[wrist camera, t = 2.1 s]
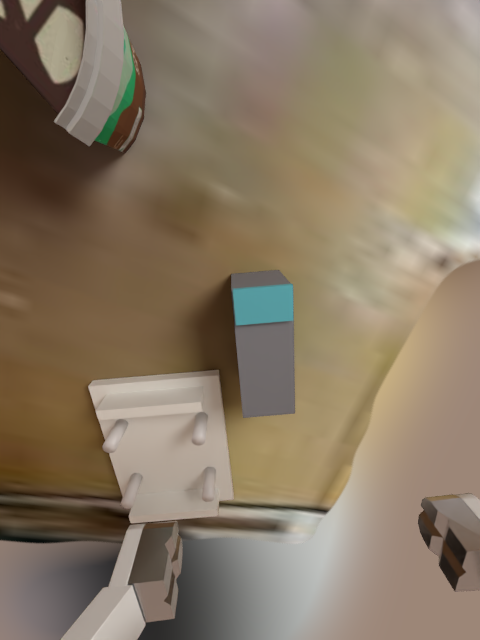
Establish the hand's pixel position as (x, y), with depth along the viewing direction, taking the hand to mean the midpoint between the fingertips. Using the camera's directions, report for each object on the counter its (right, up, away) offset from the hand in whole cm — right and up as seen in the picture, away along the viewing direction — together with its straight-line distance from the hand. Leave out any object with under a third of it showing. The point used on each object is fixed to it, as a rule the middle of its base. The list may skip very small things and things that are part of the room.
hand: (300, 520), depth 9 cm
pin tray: (-9, -6, +20) cm, 23 cm away
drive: (0, +6, +16) cm, 17 cm away
